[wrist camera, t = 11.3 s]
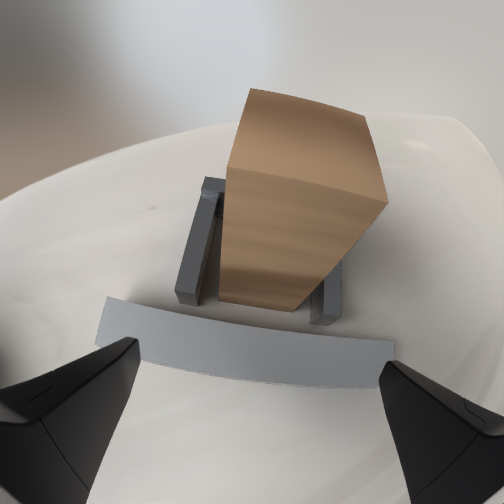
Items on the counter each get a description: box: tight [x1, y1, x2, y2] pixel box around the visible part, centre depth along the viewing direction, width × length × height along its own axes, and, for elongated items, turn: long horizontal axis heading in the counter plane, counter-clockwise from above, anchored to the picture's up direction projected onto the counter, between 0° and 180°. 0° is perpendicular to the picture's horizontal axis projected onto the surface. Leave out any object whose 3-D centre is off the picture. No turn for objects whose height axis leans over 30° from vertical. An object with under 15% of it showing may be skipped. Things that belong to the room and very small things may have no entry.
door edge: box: [95, 296, 394, 388], centre depth 15 cm, size 3×18×2 cm, turn 83°
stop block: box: [219, 88, 388, 312], centre depth 14 cm, size 5×5×12 cm
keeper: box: [175, 176, 342, 326], centre depth 18 cm, size 8×10×3 cm
